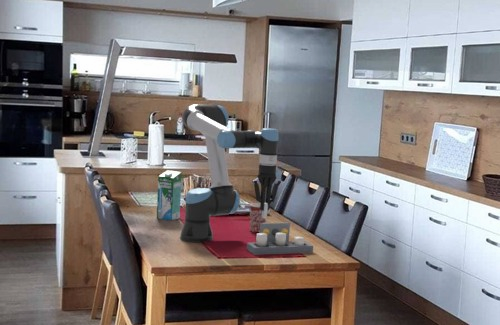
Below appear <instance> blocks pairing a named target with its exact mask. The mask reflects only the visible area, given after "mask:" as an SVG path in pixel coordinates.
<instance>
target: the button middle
mask: <svg viewBox="0 0 500 325" xmlns="http://www.w3.org/2000/svg"><path fill="white" fill-rule="evenodd" d="M285 244H286V233H280V232H279V233H276V238H275V245H277V246H285Z"/></svg>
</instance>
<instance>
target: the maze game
mask: <svg viewBox="0 0 500 325" xmlns="http://www.w3.org/2000/svg"><path fill="white" fill-rule="evenodd" d="M250 204H251V203H240V204H239V207H238V209H237V211H236V212H235V213H233V214H235V215H234V216H239V215H240V216H242V215H244V216H246V215H249V216H250ZM267 213H271V210H270V209H269V210H267ZM237 214H239V215H237Z"/></svg>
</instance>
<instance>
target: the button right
mask: <svg viewBox="0 0 500 325" xmlns="http://www.w3.org/2000/svg"><path fill="white" fill-rule="evenodd" d="M293 241H294V245H295V246H298V245H304V241H305V237H302V236H294V237H293Z"/></svg>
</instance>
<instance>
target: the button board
mask: <svg viewBox="0 0 500 325" xmlns="http://www.w3.org/2000/svg"><path fill="white" fill-rule="evenodd" d="M246 250H247V251H248V252H250V253H251V254H252V255H253V256H259V255H260V256H261V255H282V254H285V255H286V254H288V255H289V254H307V253H309V254H310V253H312V254H313V252H314V245H312V244H311V243H309V242H308V241H306V240H304V245H298V246H295V245H294V240H292V241H290V240H289V241H286V244H285V246H277V245H275V242H267V246H265V247H259V246H256V242H247V243H246Z"/></svg>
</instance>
